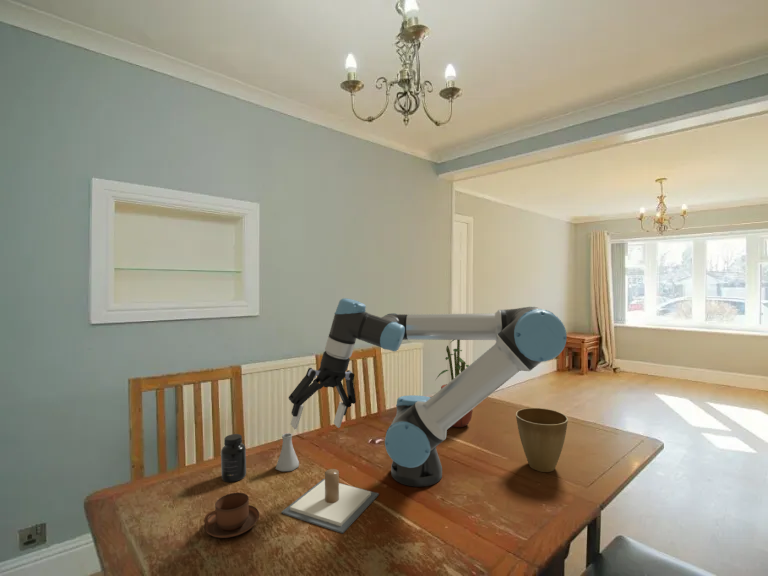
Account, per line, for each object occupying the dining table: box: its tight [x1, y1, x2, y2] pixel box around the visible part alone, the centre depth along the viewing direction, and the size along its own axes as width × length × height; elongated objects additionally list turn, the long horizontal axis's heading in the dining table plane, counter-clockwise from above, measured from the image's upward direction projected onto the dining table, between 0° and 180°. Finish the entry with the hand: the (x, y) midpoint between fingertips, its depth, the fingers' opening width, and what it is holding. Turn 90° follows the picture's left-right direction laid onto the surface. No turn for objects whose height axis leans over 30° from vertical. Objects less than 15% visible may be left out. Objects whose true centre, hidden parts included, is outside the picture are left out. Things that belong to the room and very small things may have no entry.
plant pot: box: [515, 407, 569, 473], centre depth 121 cm, size 15×15×16 cm
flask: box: [275, 432, 300, 472], centre depth 122 cm, size 7×7×10 cm
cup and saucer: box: [203, 492, 260, 539], centre depth 92 cm, size 12×12×6 cm
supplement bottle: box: [220, 433, 247, 483], centre depth 115 cm, size 7×7×12 cm
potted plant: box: [435, 340, 474, 428], centre depth 158 cm, size 17×16×35 cm
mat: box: [281, 478, 380, 534], centre depth 101 cm, size 18×18×1 cm
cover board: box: [290, 468, 371, 526], centre depth 101 cm, size 15×15×8 cm
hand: (315, 426), depth 109 cm, fingers open, 13 cm apart
